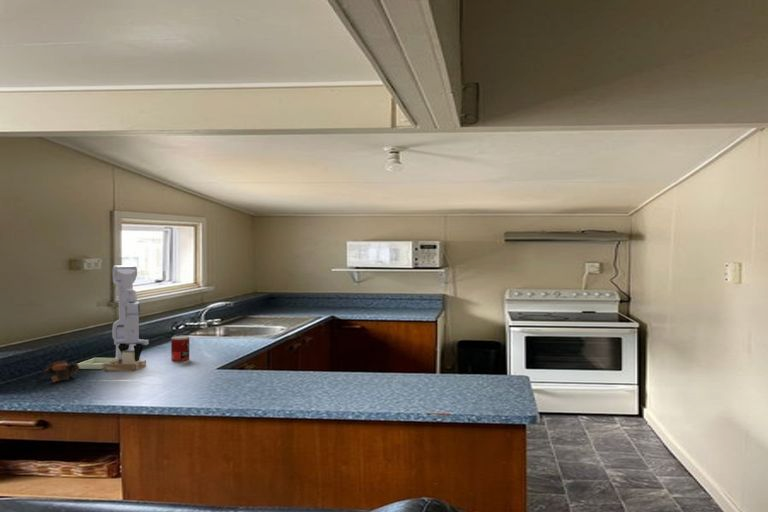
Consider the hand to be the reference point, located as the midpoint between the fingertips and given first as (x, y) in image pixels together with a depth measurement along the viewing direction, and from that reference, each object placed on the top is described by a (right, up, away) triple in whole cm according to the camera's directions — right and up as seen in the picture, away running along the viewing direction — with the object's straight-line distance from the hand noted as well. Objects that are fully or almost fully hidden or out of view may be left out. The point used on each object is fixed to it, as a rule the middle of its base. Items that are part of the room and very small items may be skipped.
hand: (131, 360), depth 226 cm
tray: (-14, -3, 0) cm, 15 cm away
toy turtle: (-16, -3, -22) cm, 28 cm away
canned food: (+16, -3, +13) cm, 21 cm away
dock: (0, -3, -5) cm, 5 cm away
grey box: (0, -1, 0) cm, 1 cm away
